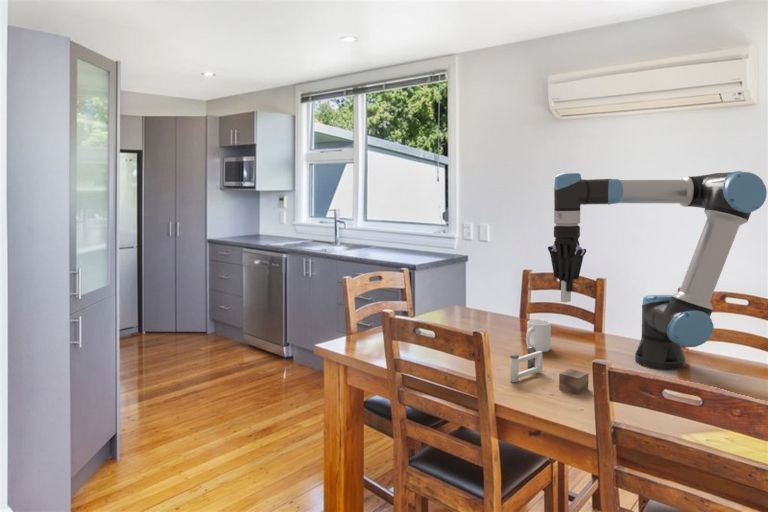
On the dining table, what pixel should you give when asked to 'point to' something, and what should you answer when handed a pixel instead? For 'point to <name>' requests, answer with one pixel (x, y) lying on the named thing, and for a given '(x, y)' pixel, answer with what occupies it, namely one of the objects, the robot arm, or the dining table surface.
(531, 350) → the latch post
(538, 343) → the mug
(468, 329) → the dining table surface
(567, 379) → the block
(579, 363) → the dining table surface
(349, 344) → the dining table surface
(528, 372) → the gate
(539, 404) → the dining table surface
